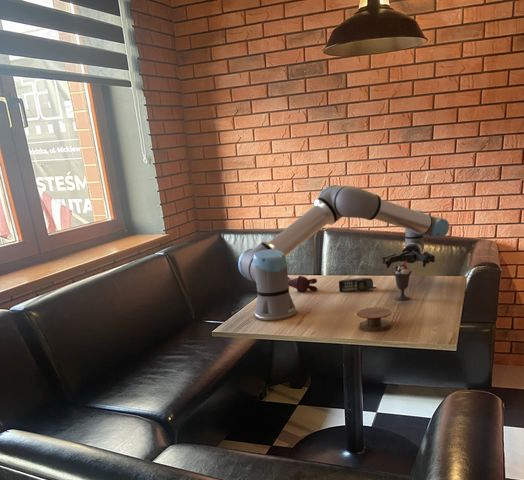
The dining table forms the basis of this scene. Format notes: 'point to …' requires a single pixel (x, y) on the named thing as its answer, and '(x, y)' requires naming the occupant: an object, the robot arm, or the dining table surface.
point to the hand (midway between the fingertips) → (405, 264)
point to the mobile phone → (356, 284)
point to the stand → (374, 319)
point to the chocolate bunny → (302, 284)
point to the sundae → (402, 279)
